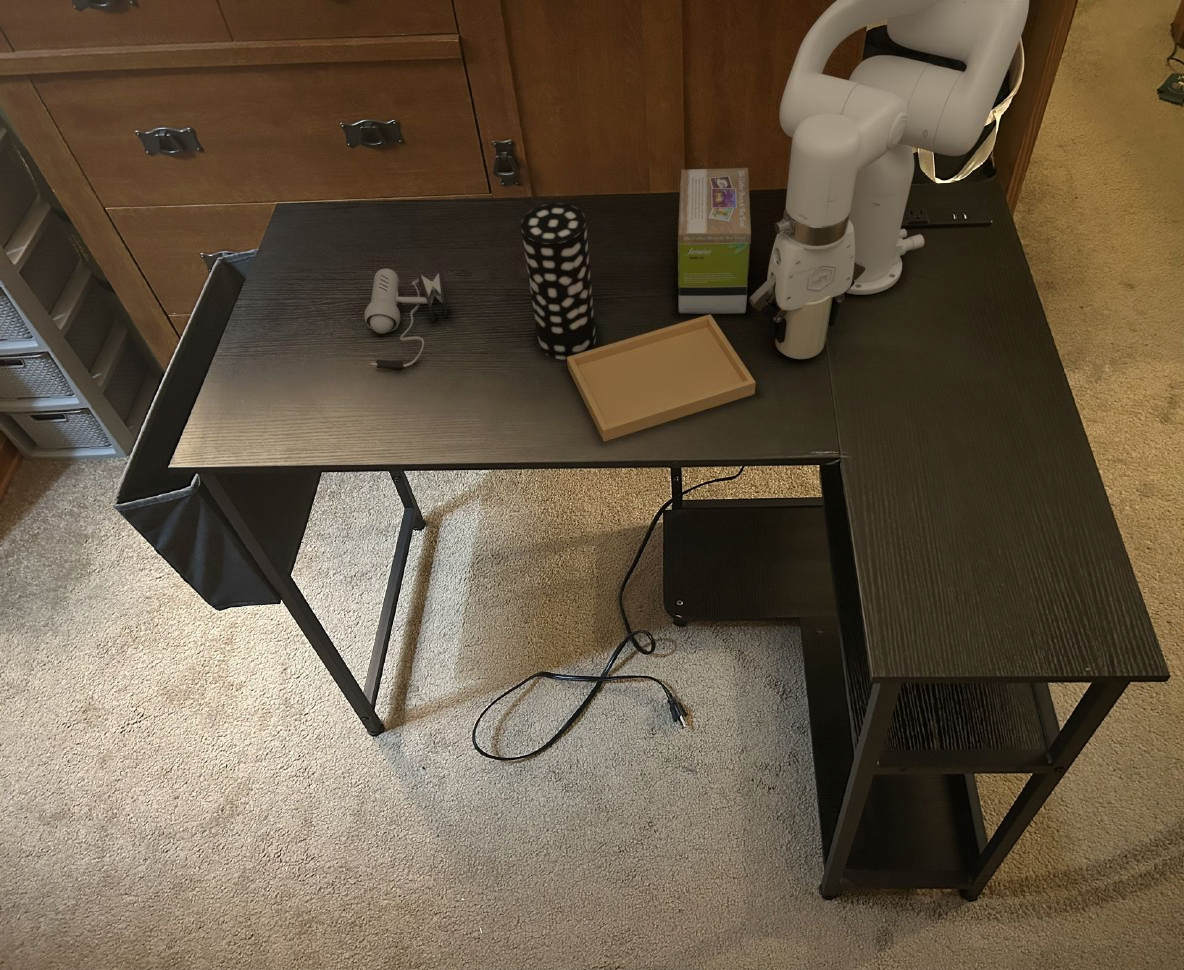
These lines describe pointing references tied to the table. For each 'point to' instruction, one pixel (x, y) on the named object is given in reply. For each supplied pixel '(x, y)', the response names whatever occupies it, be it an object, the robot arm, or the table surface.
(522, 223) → the spotted tube
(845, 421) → the table surface
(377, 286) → the clip-on lamp
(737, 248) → the tea box
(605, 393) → the tray
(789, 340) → the cup
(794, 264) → the robot arm
